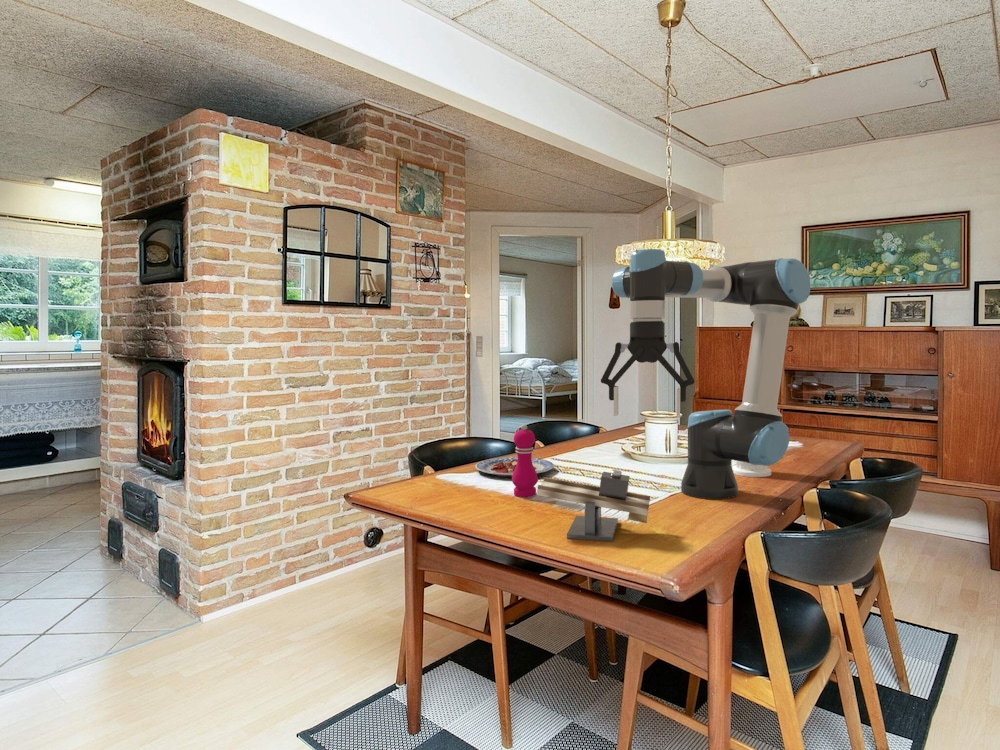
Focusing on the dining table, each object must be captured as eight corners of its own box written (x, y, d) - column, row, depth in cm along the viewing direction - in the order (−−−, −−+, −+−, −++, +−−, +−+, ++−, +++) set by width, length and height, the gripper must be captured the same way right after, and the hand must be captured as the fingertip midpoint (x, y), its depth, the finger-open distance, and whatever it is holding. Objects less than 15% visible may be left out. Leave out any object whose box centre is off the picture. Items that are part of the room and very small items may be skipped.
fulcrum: (617, 522, 152) (617, 489, 151) (612, 541, 139) (612, 505, 138) (576, 519, 155) (576, 487, 154) (566, 538, 141) (566, 503, 141)
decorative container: (764, 479, 192) (765, 420, 191) (726, 473, 199) (726, 417, 198) (776, 472, 201) (777, 415, 199) (739, 467, 208) (740, 412, 207)
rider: (626, 497, 146) (630, 471, 146) (625, 502, 142) (628, 476, 141) (600, 492, 148) (604, 466, 147) (598, 498, 143) (601, 471, 143)
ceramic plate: (460, 470, 211) (460, 461, 211) (522, 460, 226) (522, 451, 226) (505, 485, 190) (505, 475, 190) (570, 472, 205) (570, 463, 205)
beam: (647, 514, 147) (650, 496, 147) (646, 524, 139) (648, 505, 139) (542, 494, 153) (544, 477, 153) (535, 503, 146) (537, 485, 145)
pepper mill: (535, 498, 174) (535, 426, 173) (510, 497, 176) (508, 426, 174) (539, 491, 181) (538, 422, 180) (514, 490, 183) (513, 422, 181)
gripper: (705, 319, 141) (704, 414, 142) (593, 321, 147) (593, 412, 149) (707, 319, 133) (705, 419, 135) (588, 321, 140) (588, 416, 142)
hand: (646, 415), depth 142 cm, fingers open, 13 cm apart
